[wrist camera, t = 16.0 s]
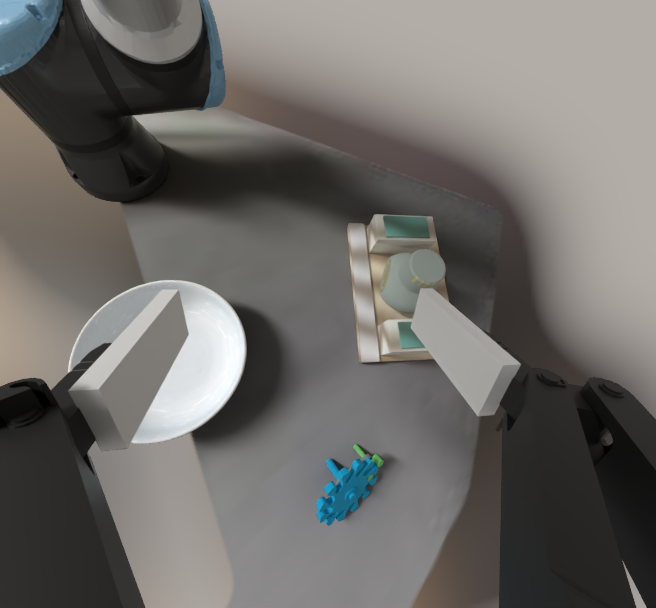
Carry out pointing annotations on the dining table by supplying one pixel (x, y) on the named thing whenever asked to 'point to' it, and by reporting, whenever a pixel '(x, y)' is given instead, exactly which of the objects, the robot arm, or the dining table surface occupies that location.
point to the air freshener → (410, 278)
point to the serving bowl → (191, 363)
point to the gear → (348, 487)
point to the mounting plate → (367, 269)
